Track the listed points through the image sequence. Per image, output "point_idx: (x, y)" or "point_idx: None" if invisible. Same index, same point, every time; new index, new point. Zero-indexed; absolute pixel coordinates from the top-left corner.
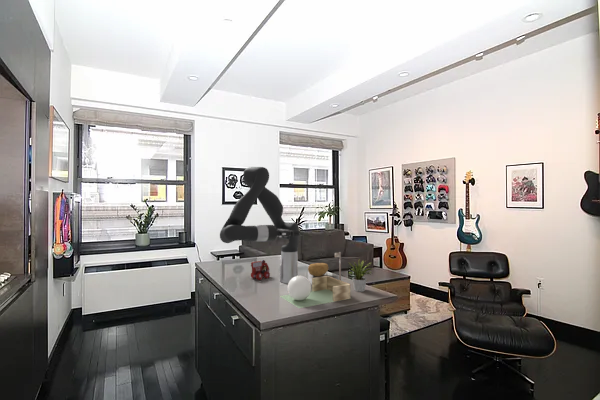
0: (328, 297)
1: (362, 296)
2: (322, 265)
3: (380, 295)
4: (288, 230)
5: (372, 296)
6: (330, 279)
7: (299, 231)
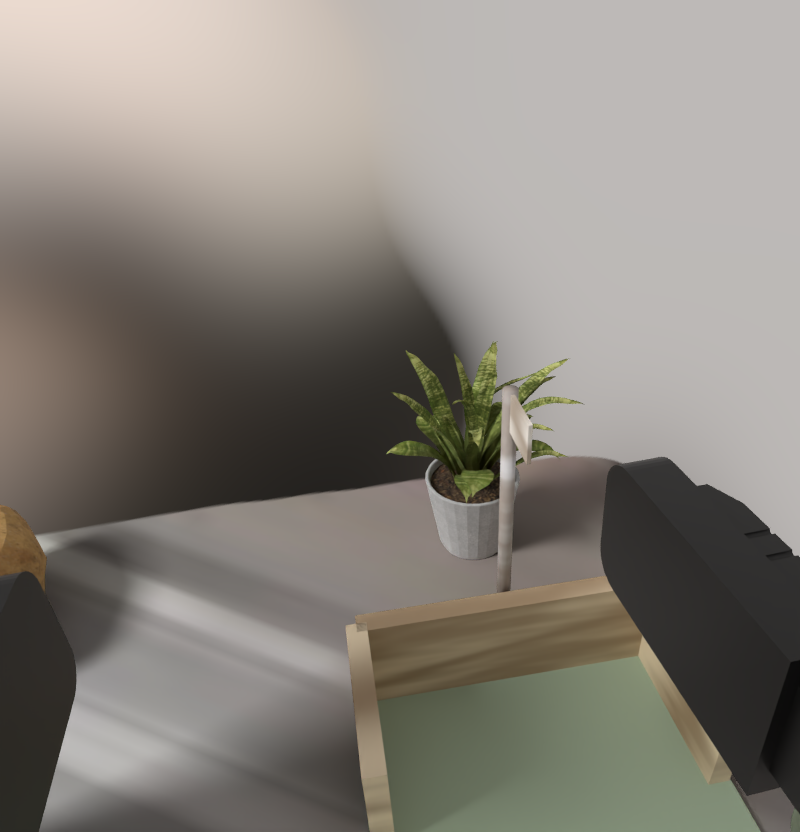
0: (609, 781)
1: (595, 565)
2: (8, 541)
3: (589, 489)
4: (5, 657)
5: (602, 524)
6: (418, 632)
7: (656, 463)
